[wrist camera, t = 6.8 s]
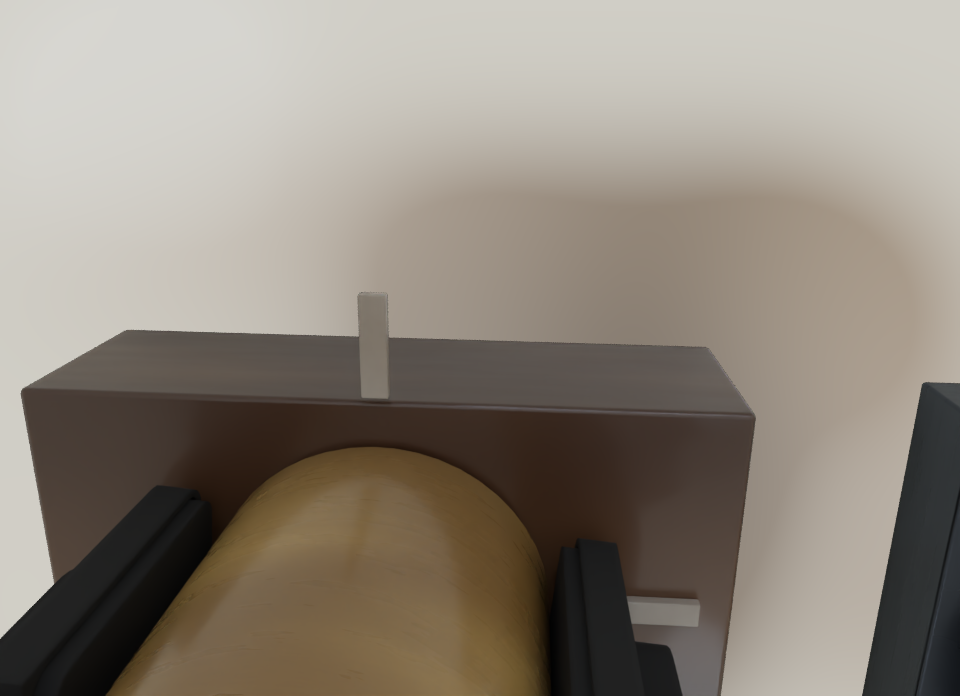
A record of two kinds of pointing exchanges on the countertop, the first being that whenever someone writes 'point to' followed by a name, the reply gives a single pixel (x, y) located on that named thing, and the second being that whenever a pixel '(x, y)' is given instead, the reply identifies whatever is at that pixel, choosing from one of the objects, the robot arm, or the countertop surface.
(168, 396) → the panel
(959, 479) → the button block
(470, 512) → the knob
